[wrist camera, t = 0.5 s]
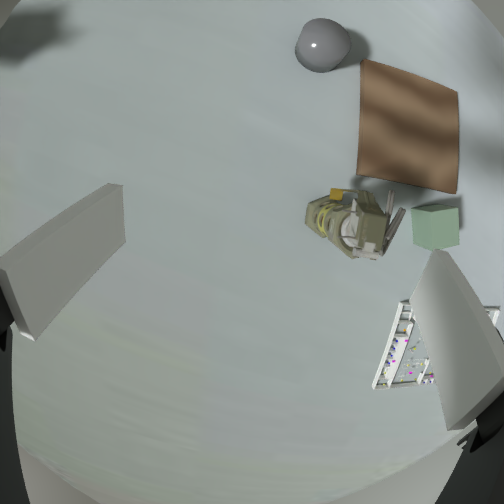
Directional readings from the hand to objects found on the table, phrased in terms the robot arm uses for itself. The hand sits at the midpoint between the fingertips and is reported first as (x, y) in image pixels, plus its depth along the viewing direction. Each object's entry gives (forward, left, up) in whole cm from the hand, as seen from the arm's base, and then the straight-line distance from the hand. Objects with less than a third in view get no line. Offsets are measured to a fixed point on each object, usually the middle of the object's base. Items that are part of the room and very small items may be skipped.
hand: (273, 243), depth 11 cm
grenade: (0, +10, -25) cm, 27 cm away
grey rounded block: (-21, +7, -25) cm, 33 cm away
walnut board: (-13, +21, -25) cm, 35 cm away
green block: (0, +25, -25) cm, 35 cm away
